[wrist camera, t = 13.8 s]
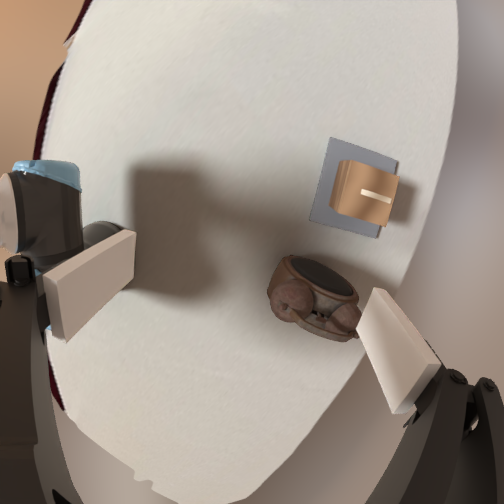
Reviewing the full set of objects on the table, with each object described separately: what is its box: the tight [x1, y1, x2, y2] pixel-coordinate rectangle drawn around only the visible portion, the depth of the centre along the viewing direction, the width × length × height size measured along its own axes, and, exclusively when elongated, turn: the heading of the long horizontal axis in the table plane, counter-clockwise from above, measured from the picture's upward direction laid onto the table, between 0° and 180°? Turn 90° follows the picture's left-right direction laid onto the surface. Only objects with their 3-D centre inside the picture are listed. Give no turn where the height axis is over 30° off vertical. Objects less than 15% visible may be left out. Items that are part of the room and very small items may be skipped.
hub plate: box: [309, 137, 397, 239], centre depth 42 cm, size 13×15×6 cm
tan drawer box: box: [328, 160, 399, 227], centre depth 40 cm, size 8×8×8 cm
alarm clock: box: [267, 255, 362, 342], centre depth 41 cm, size 15×7×20 cm, turn 67°
